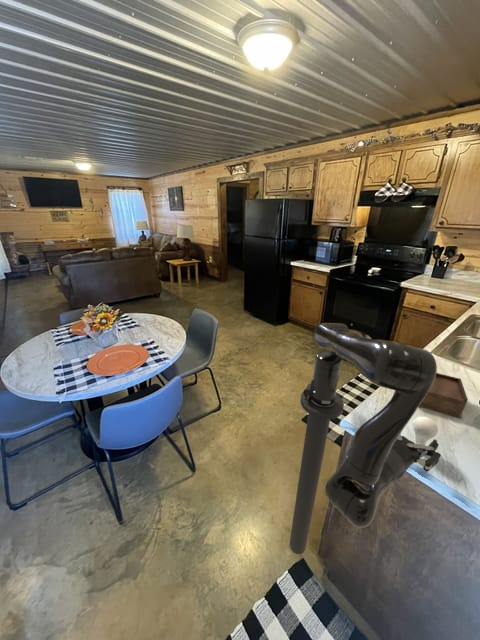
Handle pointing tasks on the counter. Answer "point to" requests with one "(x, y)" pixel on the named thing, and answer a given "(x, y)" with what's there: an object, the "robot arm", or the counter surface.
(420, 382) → the robot arm
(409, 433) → the counter surface
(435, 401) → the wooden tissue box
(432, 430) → the lightbulb
